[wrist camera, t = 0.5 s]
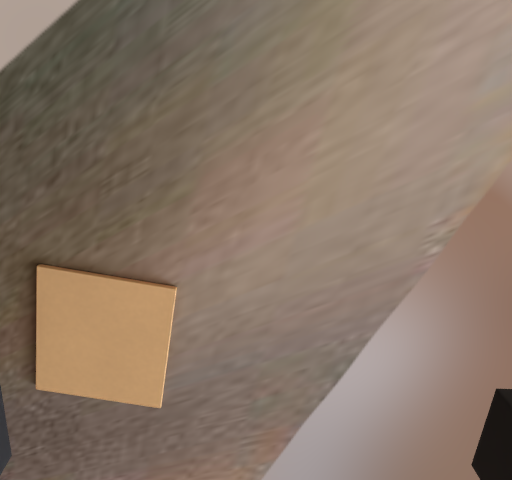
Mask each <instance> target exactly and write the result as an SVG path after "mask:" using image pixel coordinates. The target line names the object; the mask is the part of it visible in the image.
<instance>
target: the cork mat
mask: <svg viewBox="0 0 512 480" xmlns="http://www.w3.org/2000/svg"><path fill="white" fill-rule="evenodd" d="M176 291H177V287H175V286H169V285H163V284H157V283H151V282H145V281H139V280H133V279H127V278H121V277H115V276H109V275H103V274H97V273H91V272H85V271H79V270H73V269H67V268H61V267H55V266H49V265H43V264H39V265H38V266H37V290H36V389H37V390H44V391H50V392H57V393H64V394H70V395H77V396H83V397H90V398H96V399H103V400H110V401H116V402H123V403H129V404H136V405H142V406H149V407H155V408H161V405H162V397H163V390H164V382H165V375H166V367H167V359H168V352H169V344H170V336H171V329H172V321H173V313H174V306H175V298H176Z"/></svg>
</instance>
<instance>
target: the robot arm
mask: <svg viewBox="0 0 512 480" xmlns="http://www.w3.org/2000/svg"><path fill="white" fill-rule="evenodd" d="M11 456H12V455H11V448H10V442H9V436H8V430H7V424H6V418H5V411H4V405H3V399H2V393H1V387H0V475H1V473H2V471H3V469H4V468H5V466H6V464H7V462H8V461H9V459H10V457H11ZM472 467H473V468H474V470H475V472H476V473H477V475H478V476H479V478H480V480H512V389H496V391H495V394H494V397H493V401H492V403H491V407H490V410H489V413H488V416H487V419H486V422H485V425H484V428H483V431H482V434H481V437H480V440H479V443H478V446H477V449H476V453H475V455H474V459H473V462H472Z"/></svg>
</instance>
